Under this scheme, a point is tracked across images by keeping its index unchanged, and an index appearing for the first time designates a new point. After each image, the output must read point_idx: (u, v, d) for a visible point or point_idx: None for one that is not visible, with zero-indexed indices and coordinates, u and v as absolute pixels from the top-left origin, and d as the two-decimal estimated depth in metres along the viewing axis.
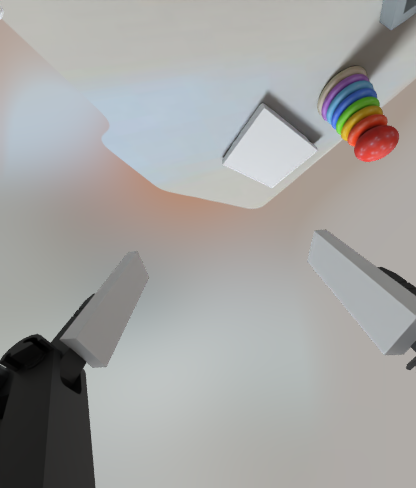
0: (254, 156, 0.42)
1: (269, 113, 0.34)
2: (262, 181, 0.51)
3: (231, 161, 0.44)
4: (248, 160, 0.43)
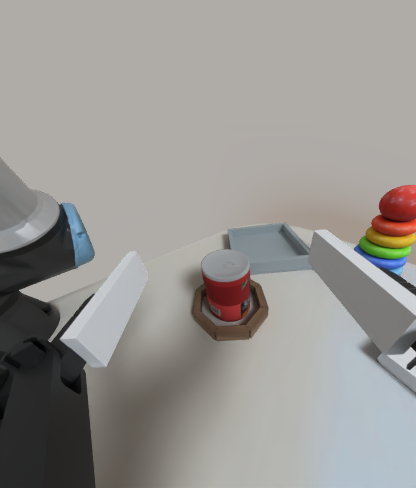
0: None
1: None
2: None
3: None
4: None
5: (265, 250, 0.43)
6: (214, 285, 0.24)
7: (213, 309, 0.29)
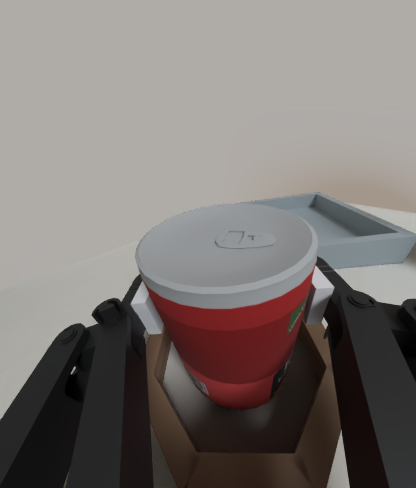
0: None
1: None
2: None
3: None
4: None
5: None
6: (175, 318, 0.06)
7: (188, 372, 0.10)
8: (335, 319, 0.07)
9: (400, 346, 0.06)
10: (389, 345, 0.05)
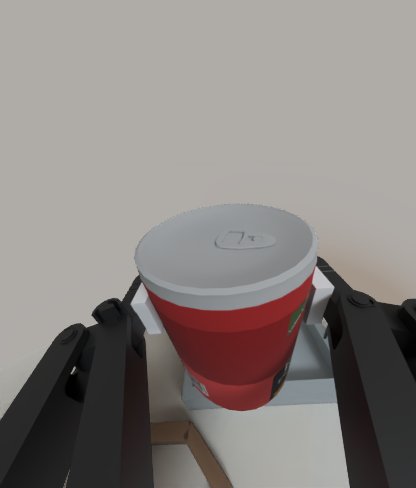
0: None
1: None
2: None
3: None
4: None
5: None
6: (175, 320, 0.06)
7: (188, 373, 0.10)
8: (335, 319, 0.07)
9: (400, 346, 0.06)
10: (389, 345, 0.05)
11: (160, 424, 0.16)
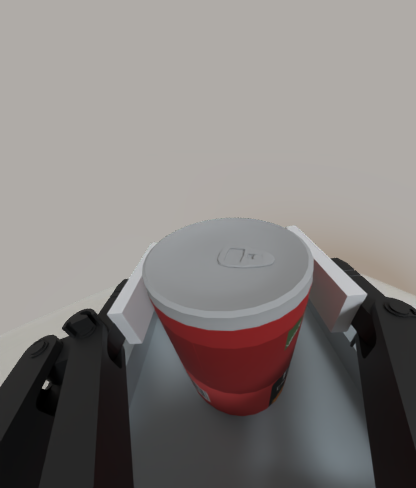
0: None
1: None
2: None
3: None
4: None
5: None
6: (180, 336, 0.06)
7: (191, 380, 0.11)
8: (366, 327, 0.07)
9: None
10: None
11: None
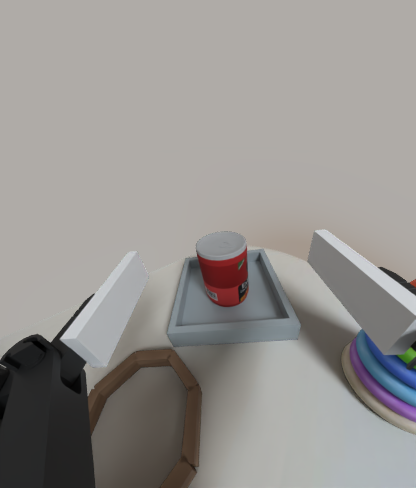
0: None
1: None
2: None
3: None
4: None
5: None
6: (209, 265, 0.23)
7: (209, 294, 0.28)
8: None
9: None
10: None
11: (151, 351, 0.22)
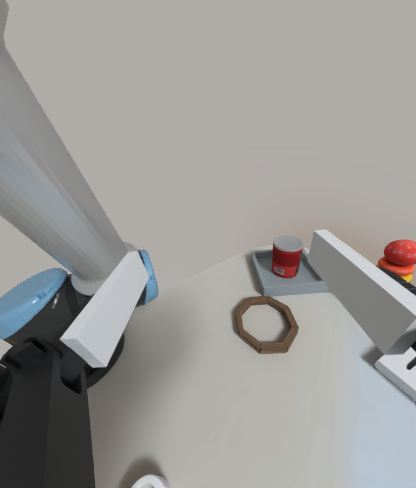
0: None
1: (385, 356, 0.29)
2: None
3: None
4: None
5: None
6: (285, 254, 0.45)
7: (277, 271, 0.50)
8: None
9: None
10: None
11: (256, 297, 0.44)
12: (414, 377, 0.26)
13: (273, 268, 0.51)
